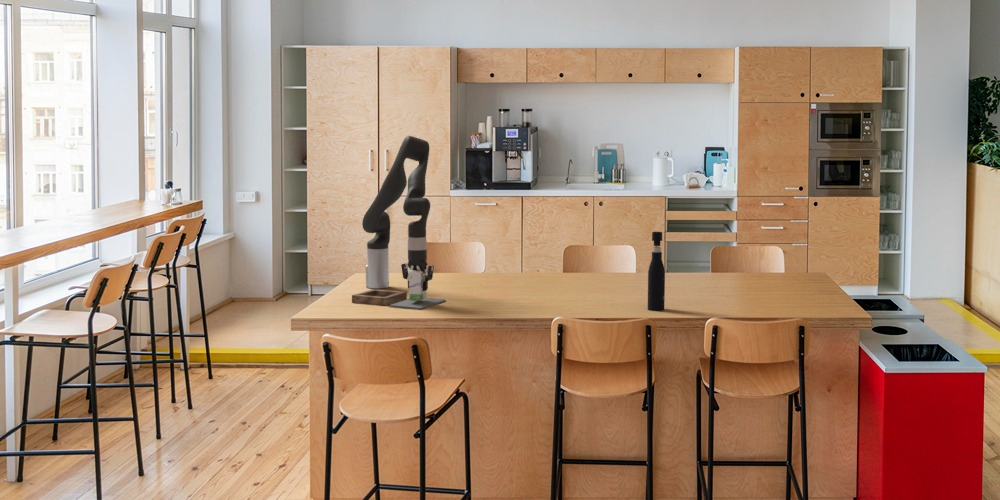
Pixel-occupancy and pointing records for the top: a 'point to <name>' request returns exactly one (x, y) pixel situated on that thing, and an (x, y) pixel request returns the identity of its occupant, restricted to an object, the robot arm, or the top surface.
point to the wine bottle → (656, 276)
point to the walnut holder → (379, 297)
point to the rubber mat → (418, 303)
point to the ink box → (416, 286)
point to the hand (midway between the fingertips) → (417, 290)
